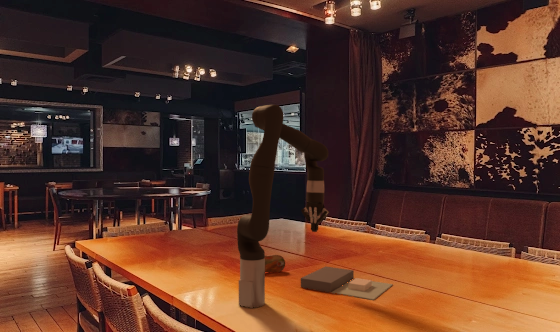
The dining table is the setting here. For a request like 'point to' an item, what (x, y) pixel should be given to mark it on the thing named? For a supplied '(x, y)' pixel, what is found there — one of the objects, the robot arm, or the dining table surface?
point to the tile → (360, 284)
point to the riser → (327, 279)
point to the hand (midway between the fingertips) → (314, 231)
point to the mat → (369, 294)
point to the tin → (274, 263)
